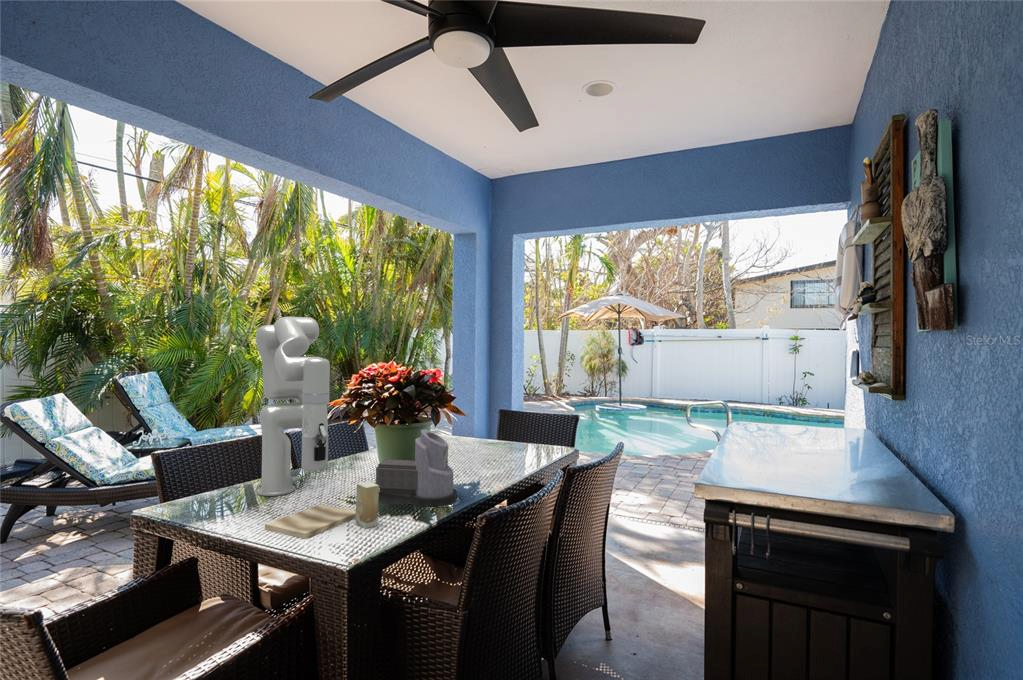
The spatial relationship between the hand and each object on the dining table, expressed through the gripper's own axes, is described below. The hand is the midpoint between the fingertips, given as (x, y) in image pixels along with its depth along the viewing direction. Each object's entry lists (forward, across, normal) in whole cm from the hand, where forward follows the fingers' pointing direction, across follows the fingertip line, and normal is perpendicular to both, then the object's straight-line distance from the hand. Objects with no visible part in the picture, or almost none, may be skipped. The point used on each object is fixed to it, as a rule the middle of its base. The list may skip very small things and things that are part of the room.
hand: (315, 457), depth 163 cm
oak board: (+19, 0, 0) cm, 19 cm away
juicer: (+20, -3, +36) cm, 42 cm away
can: (+4, 0, 0) cm, 4 cm away
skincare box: (+20, +11, +12) cm, 26 cm away
